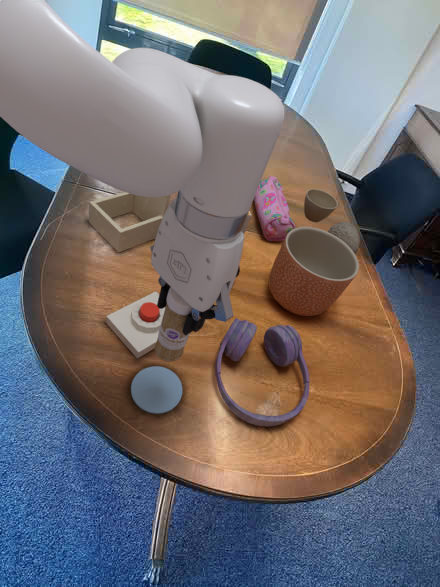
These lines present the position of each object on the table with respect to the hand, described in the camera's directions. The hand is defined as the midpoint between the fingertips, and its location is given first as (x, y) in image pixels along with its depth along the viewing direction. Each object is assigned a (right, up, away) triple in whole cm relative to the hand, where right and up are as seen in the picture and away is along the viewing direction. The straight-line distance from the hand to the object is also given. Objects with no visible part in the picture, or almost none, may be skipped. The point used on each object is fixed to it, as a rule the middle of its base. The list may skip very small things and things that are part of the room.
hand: (179, 315), depth 53 cm
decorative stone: (+38, +14, +58) cm, 70 cm away
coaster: (-6, -14, +15) cm, 21 cm away
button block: (-9, -3, +23) cm, 25 cm away
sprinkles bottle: (-2, -6, +6) cm, 9 cm away
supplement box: (+5, +14, +45) cm, 48 cm away
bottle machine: (-17, +19, +41) cm, 48 cm away
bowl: (+34, +27, +68) cm, 81 cm away
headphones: (+13, -14, +22) cm, 29 cm away
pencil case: (+19, +24, +60) cm, 68 cm away
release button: (-8, -1, +21) cm, 22 cm away
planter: (+24, +2, +41) cm, 47 cm away
